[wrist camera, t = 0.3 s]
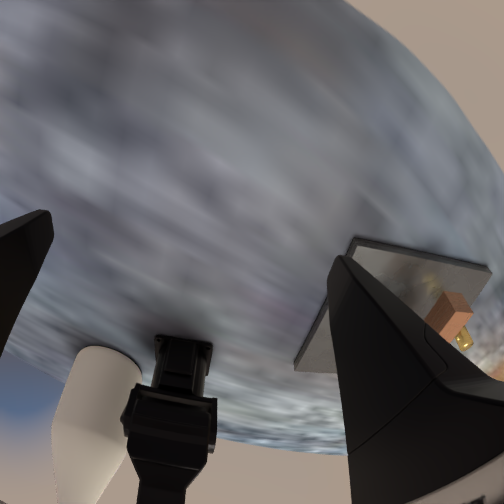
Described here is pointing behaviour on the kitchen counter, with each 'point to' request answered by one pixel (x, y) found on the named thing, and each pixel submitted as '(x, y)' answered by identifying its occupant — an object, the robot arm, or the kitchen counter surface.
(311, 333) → the post plate
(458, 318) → the disc with brown handle
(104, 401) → the wine bottle
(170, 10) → the kitchen counter surface
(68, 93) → the kitchen counter surface
